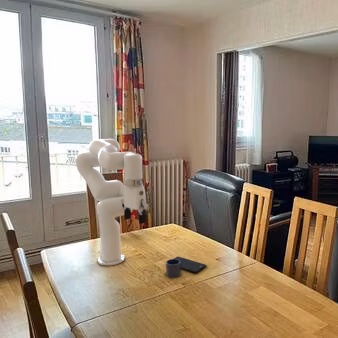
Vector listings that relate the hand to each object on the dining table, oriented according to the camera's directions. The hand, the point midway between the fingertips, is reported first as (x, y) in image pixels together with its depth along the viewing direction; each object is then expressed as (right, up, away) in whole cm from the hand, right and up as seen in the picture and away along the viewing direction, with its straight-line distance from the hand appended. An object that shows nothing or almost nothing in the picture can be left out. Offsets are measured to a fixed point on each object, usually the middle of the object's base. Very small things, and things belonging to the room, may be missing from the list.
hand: (134, 221), depth 143 cm
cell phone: (+21, -24, +16) cm, 36 cm away
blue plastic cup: (+16, -26, +7) cm, 31 cm away
